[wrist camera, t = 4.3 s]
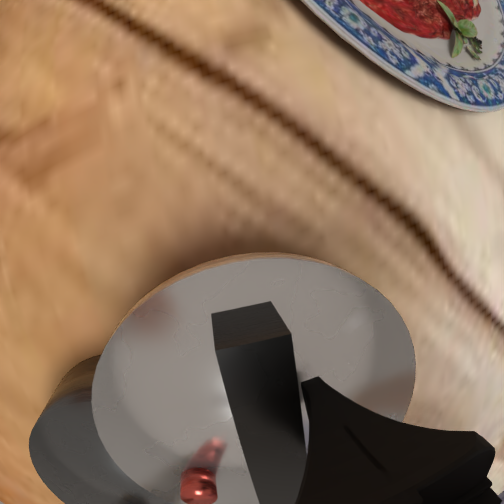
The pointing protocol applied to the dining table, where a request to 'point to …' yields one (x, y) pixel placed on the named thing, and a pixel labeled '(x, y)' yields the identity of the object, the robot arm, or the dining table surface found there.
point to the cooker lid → (243, 374)
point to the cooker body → (79, 448)
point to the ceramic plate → (429, 44)
